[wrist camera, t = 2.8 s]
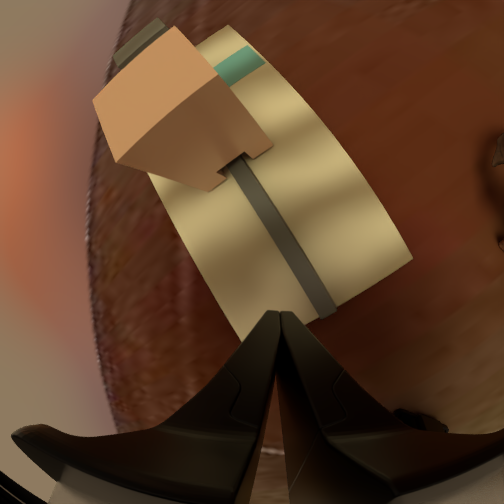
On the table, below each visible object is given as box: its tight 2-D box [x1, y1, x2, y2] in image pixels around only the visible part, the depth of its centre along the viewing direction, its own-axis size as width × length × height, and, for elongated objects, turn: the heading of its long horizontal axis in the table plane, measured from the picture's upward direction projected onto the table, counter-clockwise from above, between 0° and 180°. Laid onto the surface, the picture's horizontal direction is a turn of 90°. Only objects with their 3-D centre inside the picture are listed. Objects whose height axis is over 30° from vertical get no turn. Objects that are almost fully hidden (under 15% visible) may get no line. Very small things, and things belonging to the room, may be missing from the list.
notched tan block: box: [93, 26, 273, 192], centre depth 16 cm, size 5×6×10 cm
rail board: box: [113, 17, 413, 341], centre depth 18 cm, size 26×14×6 cm, turn 33°
